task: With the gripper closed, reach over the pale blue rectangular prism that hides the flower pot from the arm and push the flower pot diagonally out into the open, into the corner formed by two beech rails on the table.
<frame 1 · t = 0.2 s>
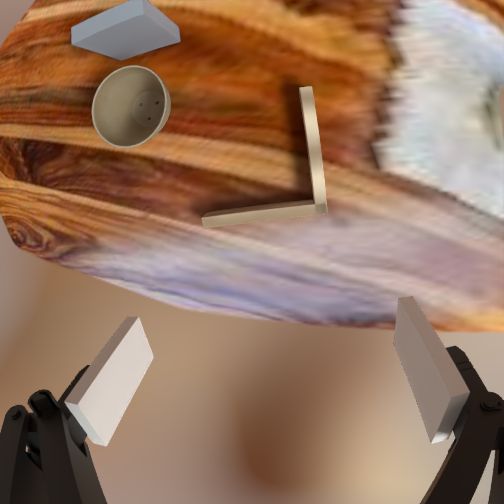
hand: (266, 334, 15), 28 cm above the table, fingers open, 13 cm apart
pale blue rectangular prism: (148, 43, 34), on the table
l-shaped bracket: (256, 156, 39), on the table
flower pot: (151, 109, 38), on the table
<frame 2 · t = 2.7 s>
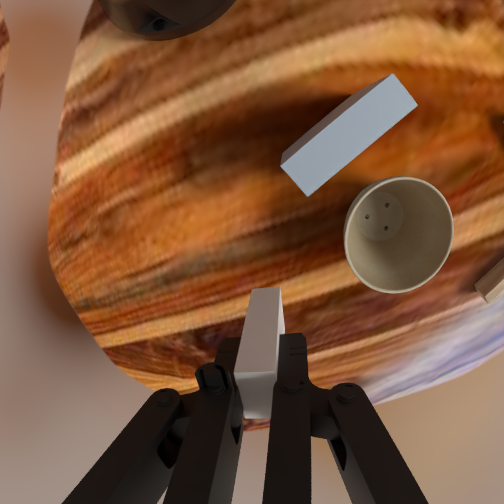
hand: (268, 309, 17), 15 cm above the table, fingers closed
pale blue rectangular prism: (326, 132, 27), on the table
l-shaped bracket: (498, 207, 27), on the table
flower pot: (379, 215, 30), on the table
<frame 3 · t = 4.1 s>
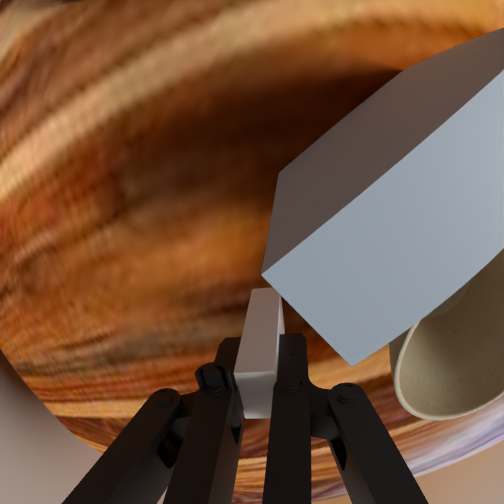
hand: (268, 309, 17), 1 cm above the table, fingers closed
pale blue rectangular prism: (359, 135, 15), on the table
flower pot: (435, 276, 17), on the table
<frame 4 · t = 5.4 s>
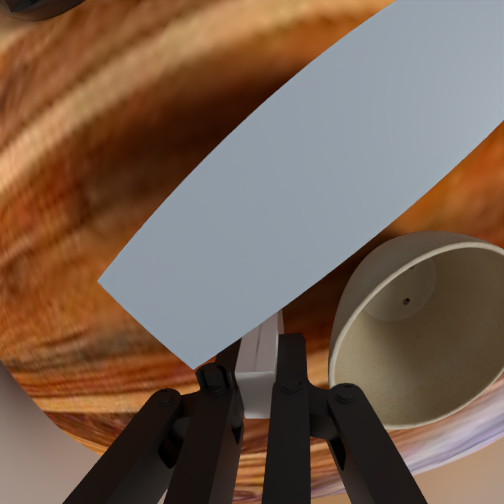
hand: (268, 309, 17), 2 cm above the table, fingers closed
pale blue rectangular prism: (303, 136, 15), on the table
flower pot: (396, 279, 17), on the table, touching gripper
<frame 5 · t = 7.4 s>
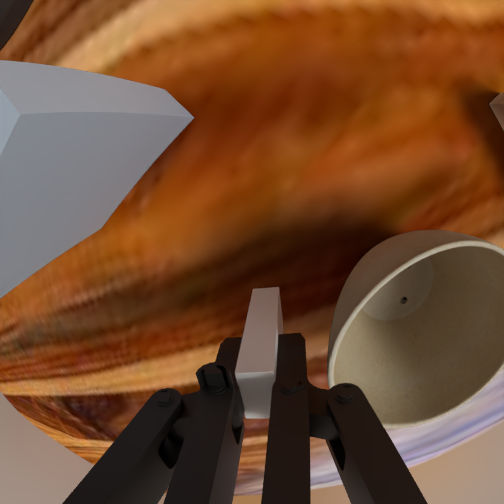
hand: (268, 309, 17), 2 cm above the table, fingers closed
pale blue rectangular prism: (127, 162, 16), on the table
l-shaped bracket: (477, 262, 16), on the table
flower pot: (393, 278, 17), on the table, touching gripper
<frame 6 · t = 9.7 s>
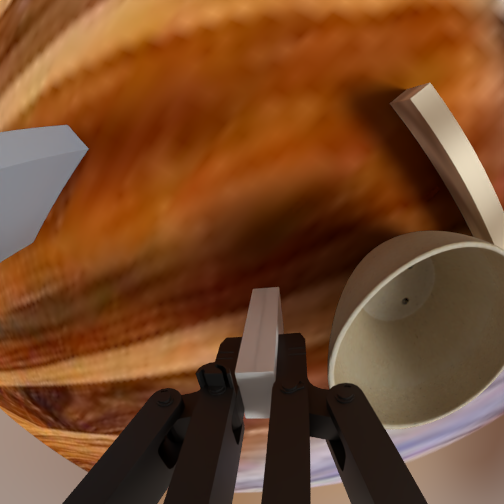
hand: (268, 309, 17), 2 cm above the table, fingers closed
pale blue rectangular prism: (46, 188, 17), on the table
l-shaped bracket: (382, 280, 17), on the table
flower pot: (395, 279, 17), on the table, touching gripper
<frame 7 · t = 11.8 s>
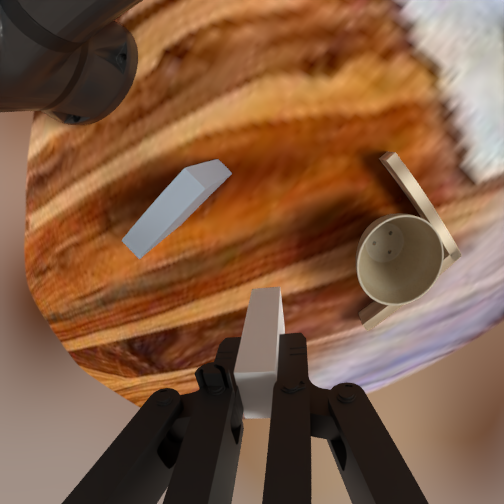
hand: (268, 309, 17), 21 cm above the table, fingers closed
pale blue rectangular prism: (198, 192, 37), on the table
l-shaped bracket: (377, 241, 36), on the table
flower pot: (384, 241, 36), on the table
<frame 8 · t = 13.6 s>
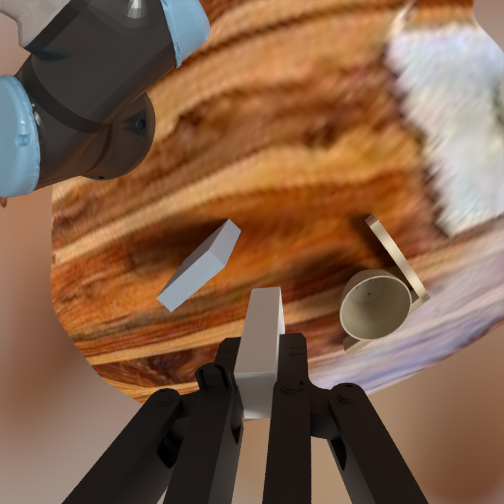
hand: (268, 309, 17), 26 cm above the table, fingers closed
pale blue rectangular prism: (212, 245, 45), on the table
l-shaped bracket: (359, 285, 45), on the table
flower pot: (365, 284, 45), on the table
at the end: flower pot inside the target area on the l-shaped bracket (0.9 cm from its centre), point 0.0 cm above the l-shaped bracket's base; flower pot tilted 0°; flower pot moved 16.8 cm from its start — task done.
